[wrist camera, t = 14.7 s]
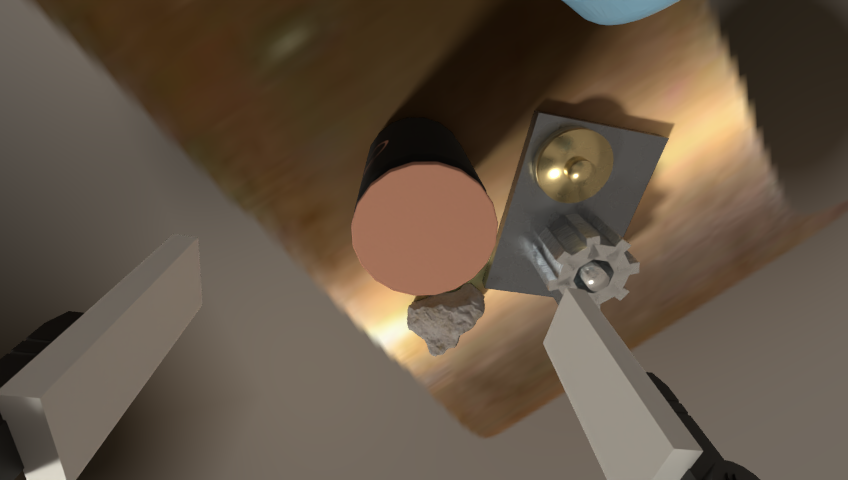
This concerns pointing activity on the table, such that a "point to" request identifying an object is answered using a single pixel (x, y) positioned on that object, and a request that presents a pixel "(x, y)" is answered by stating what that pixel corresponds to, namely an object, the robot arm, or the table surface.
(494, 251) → the carrier
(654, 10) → the robot arm
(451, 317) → the stone
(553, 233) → the planet gear
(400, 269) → the coffee jar
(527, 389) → the table surface
